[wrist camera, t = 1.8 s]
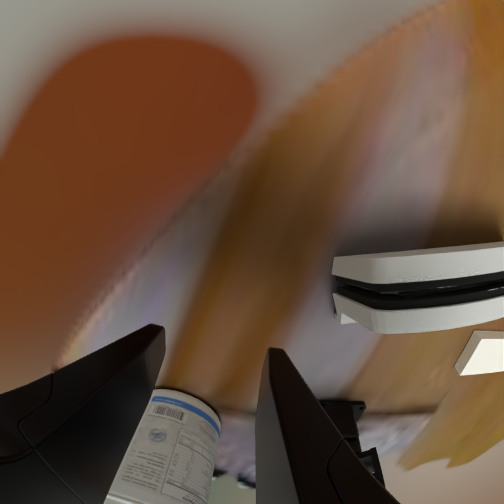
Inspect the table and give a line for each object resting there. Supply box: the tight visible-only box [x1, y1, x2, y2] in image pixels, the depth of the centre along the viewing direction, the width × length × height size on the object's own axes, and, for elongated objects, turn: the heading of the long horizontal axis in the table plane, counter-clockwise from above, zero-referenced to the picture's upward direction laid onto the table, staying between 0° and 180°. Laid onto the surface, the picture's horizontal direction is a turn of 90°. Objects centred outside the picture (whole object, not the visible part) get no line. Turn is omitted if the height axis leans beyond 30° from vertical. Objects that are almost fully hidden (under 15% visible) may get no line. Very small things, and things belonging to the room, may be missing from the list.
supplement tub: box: [104, 389, 221, 504], centre depth 19 cm, size 10×10×15 cm
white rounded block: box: [332, 241, 504, 334], centre depth 15 cm, size 17×5×10 cm, turn 96°
